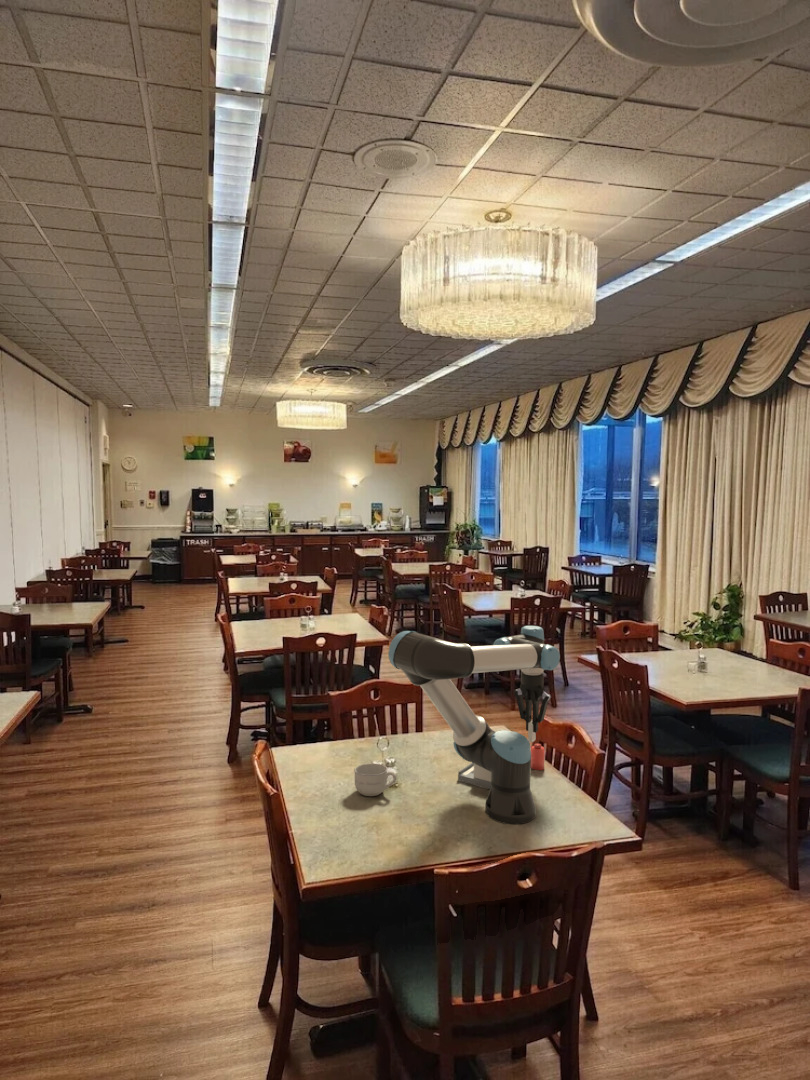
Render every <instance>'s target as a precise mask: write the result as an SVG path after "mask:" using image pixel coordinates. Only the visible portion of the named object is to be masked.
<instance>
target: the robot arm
mask: <svg viewBox="0 0 810 1080" xmlns="http://www.w3.org/2000/svg"><path fill="white" fill-rule="evenodd" d="M387 652H388V654H387V655H388V660H389V663H390V664H391V665H392V666H393V667H394V668H395V669H398V670H401V671H402V672H403V673H404V675H405V676H406V677H407V679H408V680H409V681H410V683H411V684H412V685H413V686H417V687H419V686H420V688H421V689H422V690H423V692H424V694H426V696H427V698H428V699H429V700H430V701H431V703H432V704H433V706H434V707H435V708H436V710H437V711H438V713H439V714H440V715H441V716H442V718H443V720H444V721H445V722H446V724H447V725H448V726H449V728H450V729H451V730H452V739H453V742H452V743H453V747H454V750H455V752H456V754H458V756H460V757H461V758H462V760H464V761H467V762H468V763H474V764H476V765H478V766H480V767H482V768H484V769H486V770H488V771H490V772H491V788H490V789H489V791H488V795H487V797H486V800H485V805H484V806H485V807H484V811H485V812H484V813H485V814H486V816H487V817H489V818H490V819H491V820H493V821H496V822H499V823H502V824H507V825H521V824H526V823H529V822H531V821H533V820H534V819H535V818H536V816H537V815H536V813H537V806H536V803H535V800H534V797H533V794H532V791H531V771H532V768H531V743H534V742H535V741H536V740H537V739H536V738H537V737H536V735H537V732H538V731H539V723H542V722H543V721H544V720H545V717H546V712H547V707H548V704H549V701H550V700H551V698H552V694H550V693H549V694H548V693H547V692H546V690H545V688H544V683H545V681H544V680H545V679H544V671H547V670H548V671H553V670H555V669H556V668H557V667H558V665H559V664H560V660H561V659H560V657H561V654H560V651H559V649H558V648H557V647H556V646H553V645H551V644H548V643H547V644H545V634H544V628H543V627H542V626H538V625H523V626H522V627H521V629H520V634H517V635H511V636H510V635H509V636H502V637H500V638H497V639H495V641H494V642H493V644H491V645H476V646H475V645H472V646H471V645H469V644H468V643H464V642H458V643H457V642H451V641H448V640H445V639H444V640H443V639H441V638H437V637H434V636H430V635H427V634H423V633H419V632H417V631H414V630H403V631H401V632H399V633H397V634H396V635H395V636H394V637H393V639H392V640H391V642H390V644H389V649H388V651H387ZM516 670H520V671H521V672H520V685H519V688H517V689H515V690H514V691H513V694H514V696H515V699H516V702H517V708H518V711H519V716H520V719H521V720H524V721H525V731H527V732H528V733H527V734H528V736H527V737H528V738H527V737H526V736H525V735H523V734H521V733H519V732H518V731H510V730H507V729H505V730H498V731H495V730H493V728H492V729H491V728H490V726H489V723H487V721H486V720H485V719H484V717H482V716H481V715H477V714H476V713H475V712H474V711H473V709H472V708H471V707H470V705H469V704H468V703H467V700H466V699H465V698H464V697H463V696H462V694H461V692H460V691H459V690H458V688H457V686H456V685H455V684H454V682H453V681H452V679H462V678H463V679H464V678H468V677H470V676H472V674H479V673H489V672H490V673H491V672H492V673H493V672H503V671H516ZM541 697H542V702H541V705H540V699H541ZM539 706H540V707H539Z"/></svg>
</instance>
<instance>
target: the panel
mask: <svg viewBox="0 0 810 1080" xmlns="http://www.w3.org/2000/svg"><path fill="white" fill-rule="evenodd" d="M457 773H458V774H457V781H459V782H462V783H465V784H468V785H469V784H470V785H473V786H475V787H476V786H477V787H479V788H483V789H486V790H490V788H491V782H489V781H485V780H482V779H478V778H475V777H474V763H472V762H470V763H469V764H468V765H466V766H465V767H463V768H461V769H460V770H459V771H457Z"/></svg>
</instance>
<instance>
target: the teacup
mask: <svg viewBox="0 0 810 1080" xmlns="http://www.w3.org/2000/svg"><path fill="white" fill-rule="evenodd" d="M353 772H354V786H355V789H356V791H358V792H359V793H360V794H361V795H362V796H366V797H375V796H376V797H377V796H379V795H381V793H383V792H384V791H385V790H387V789H389V787H392V786H393V785H394V784H395V783H396V782H397V779H398V778H397V775H396V774H397V773H395V772H393V770H392V771H391V770H390V771H388V767H387V766H386V765H384V764H380V763H374V762H372V763H363V764H360V765H357V766H355V768H354V770H353ZM389 776H392V777H393V780H392V781H390V782H389V783H388V778H389Z"/></svg>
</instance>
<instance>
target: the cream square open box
mask: <svg viewBox="0 0 810 1080" xmlns="http://www.w3.org/2000/svg"><path fill="white" fill-rule="evenodd" d="M474 777H475V778H478V779H482V780H485V781H489V782H491V772H490V771H488V770H486V769H484V768H482V767H480V766H478V765H476V764H474Z"/></svg>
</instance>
